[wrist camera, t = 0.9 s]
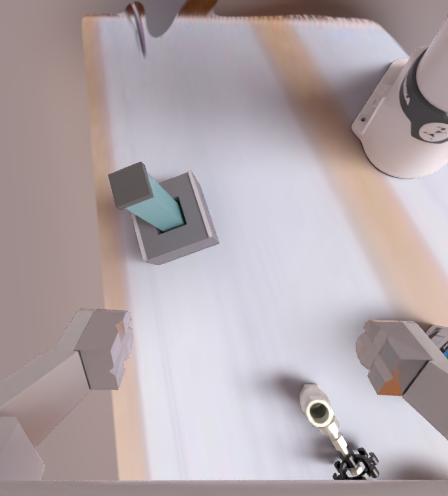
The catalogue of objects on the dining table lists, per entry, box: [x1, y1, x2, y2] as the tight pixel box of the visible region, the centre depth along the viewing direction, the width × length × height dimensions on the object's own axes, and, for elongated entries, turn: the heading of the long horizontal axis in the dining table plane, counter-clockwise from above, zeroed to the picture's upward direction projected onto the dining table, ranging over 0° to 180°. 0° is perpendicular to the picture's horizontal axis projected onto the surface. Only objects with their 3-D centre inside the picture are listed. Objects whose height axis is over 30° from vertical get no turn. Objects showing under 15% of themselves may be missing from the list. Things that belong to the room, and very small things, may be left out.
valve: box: [299, 384, 379, 480], centre depth 38 cm, size 7×7×12 cm
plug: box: [108, 162, 187, 232], centre depth 41 cm, size 4×4×18 cm
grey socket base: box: [130, 170, 219, 265], centre depth 47 cm, size 12×12×6 cm
